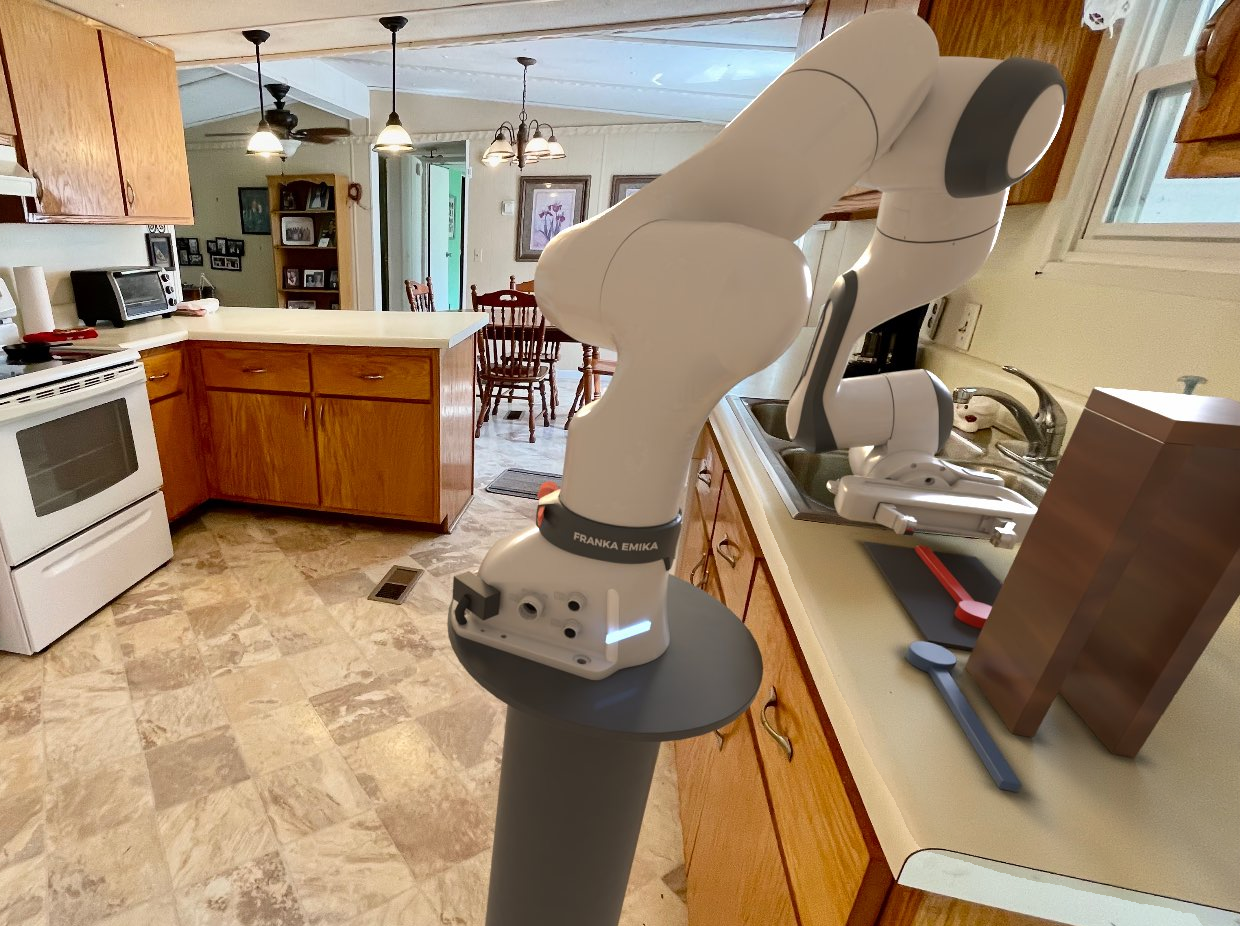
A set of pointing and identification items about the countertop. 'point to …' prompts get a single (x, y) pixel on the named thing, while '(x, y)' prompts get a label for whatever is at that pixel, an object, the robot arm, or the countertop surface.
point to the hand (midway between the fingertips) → (956, 535)
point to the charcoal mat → (935, 591)
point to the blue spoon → (962, 709)
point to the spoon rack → (1120, 568)
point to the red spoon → (956, 591)
